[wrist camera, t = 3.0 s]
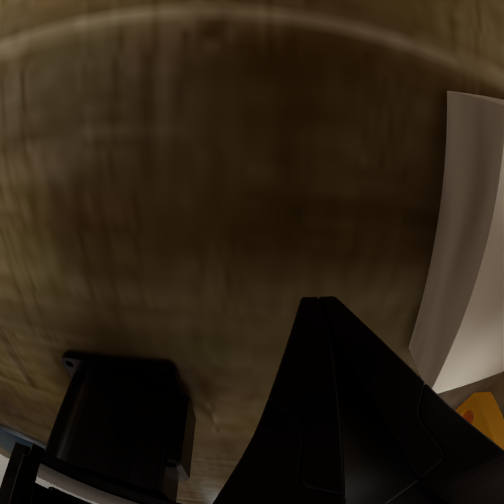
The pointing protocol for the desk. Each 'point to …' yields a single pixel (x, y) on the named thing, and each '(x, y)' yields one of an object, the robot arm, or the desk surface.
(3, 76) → the desk surface
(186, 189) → the desk surface
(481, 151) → the beige rectangular block
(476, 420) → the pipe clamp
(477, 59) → the desk surface
